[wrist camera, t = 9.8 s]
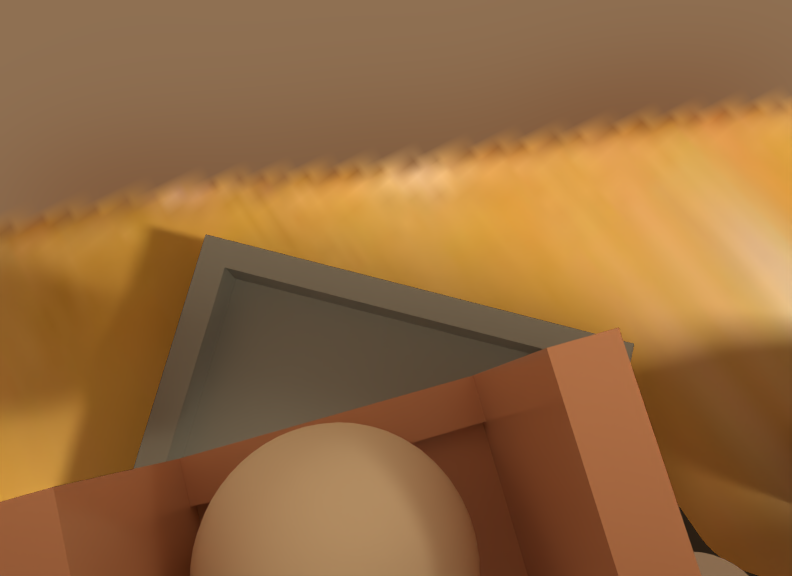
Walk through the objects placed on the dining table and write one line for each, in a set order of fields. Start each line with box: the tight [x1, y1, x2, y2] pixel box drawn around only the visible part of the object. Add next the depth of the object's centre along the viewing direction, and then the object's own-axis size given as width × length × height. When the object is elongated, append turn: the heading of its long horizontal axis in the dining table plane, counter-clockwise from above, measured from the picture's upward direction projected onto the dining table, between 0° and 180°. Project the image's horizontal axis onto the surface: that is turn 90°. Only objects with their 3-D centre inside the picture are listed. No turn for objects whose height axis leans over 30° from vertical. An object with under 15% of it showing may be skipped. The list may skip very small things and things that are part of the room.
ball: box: [190, 422, 480, 576], centre depth 8 cm, size 3×3×3 cm
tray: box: [133, 235, 634, 469], centre depth 26 cm, size 16×14×3 cm
